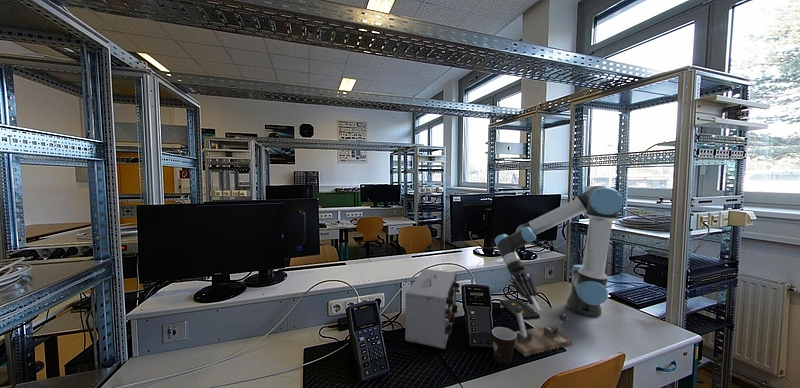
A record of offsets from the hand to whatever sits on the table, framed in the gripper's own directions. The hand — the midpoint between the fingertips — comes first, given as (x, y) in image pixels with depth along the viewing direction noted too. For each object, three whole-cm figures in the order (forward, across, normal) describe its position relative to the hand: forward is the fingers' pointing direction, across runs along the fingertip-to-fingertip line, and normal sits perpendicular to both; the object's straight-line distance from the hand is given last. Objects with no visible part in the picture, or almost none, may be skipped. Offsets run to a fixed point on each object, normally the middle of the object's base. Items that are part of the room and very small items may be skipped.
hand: (537, 310), depth 128 cm
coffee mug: (+14, +27, +1) cm, 30 cm away
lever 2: (+9, 0, +2) cm, 9 cm away
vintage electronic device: (-4, +44, -16) cm, 47 cm away
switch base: (+12, +7, -1) cm, 14 cm away
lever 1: (+9, +14, +2) cm, 17 cm away
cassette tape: (-5, -5, -19) cm, 20 cm away
